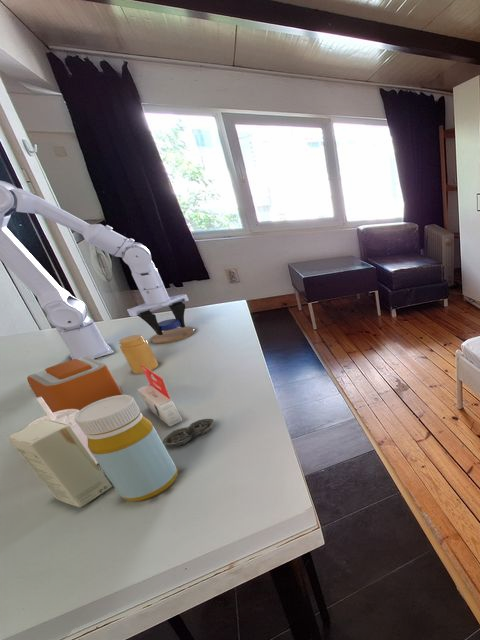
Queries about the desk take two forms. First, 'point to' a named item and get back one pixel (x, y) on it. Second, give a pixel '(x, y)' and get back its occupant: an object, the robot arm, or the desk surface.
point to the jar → (138, 353)
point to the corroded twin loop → (188, 432)
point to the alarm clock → (74, 384)
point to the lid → (169, 324)
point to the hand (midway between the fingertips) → (171, 330)
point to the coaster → (173, 335)
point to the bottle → (127, 447)
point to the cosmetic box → (60, 462)
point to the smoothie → (66, 418)
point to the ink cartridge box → (159, 399)
